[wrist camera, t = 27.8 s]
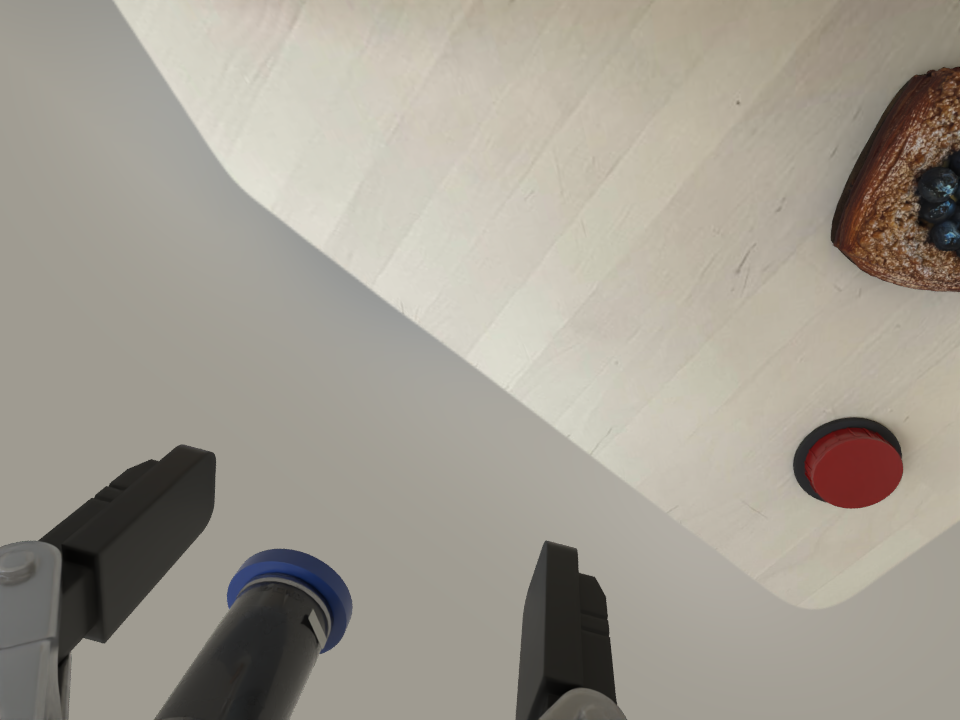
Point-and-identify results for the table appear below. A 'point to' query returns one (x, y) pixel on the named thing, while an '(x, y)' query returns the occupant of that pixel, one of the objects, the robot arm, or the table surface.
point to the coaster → (826, 429)
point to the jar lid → (853, 468)
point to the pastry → (908, 190)
